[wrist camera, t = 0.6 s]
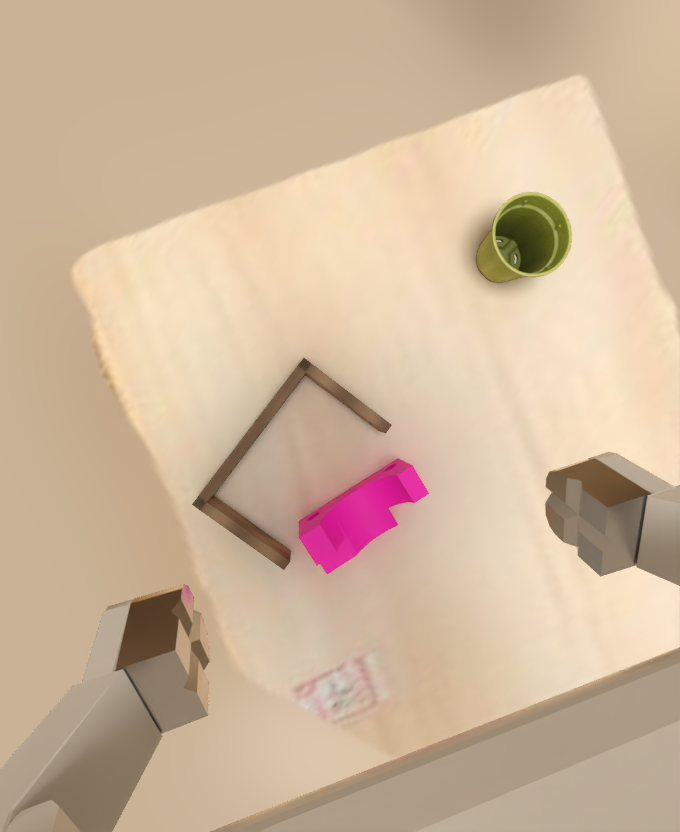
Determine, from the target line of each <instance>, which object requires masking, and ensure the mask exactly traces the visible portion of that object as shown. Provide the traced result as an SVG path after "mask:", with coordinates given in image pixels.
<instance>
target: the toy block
mask: <svg viewBox="0 0 680 832" xmlns="http://www.w3.org/2000/svg"><path fill="white" fill-rule="evenodd" d="M427 494H429V493H428V491H427V489H426V488H425V486H424V484H423V483H422V481H421V479H420V478H419V476H418V474H417V473H416V471H415V470H414V468H413V466H412V465H410V464H408V463H406V462H404V461H402V460H400V459H397V460H395V461H393V462H392V463H390V464H389V465H387V466H386V467H384V468H382V469H381V470H379V471H378V472H376V473H374V474H373V475H371V476H370V477H368V478H367V479H365V480H363V481H362V482H360V483H359V484H357V485H356V486H354V487H352V488H351V489H349V490H348V491H346V492H345V493H343V494H341V495H340V496H338V497H337V498H335V499H333V500H332V501H330V502H329V503H327V504H326V505H324V506H322V507H321V508H319V509H318V510H316V511H315V512H313V513H311V514H310V515H308V516H307V517H305V518H304V519H302V520H300V521H299V538H300V539H301V541H302V543H303V544H304V546H305V547H306V549H307V551H308V552H309V554H310V555H311V557H312V558H313V560H314V562H315V563H316V565H319V564H321V566H322V567H323V569H324V570H325V572H326V573H327V574H328V573H330V572H331V571H333V570H334V569H336V568H338V567H339V566H341V565H342V564H344V563H345V562H347V561H348V560H350V559H351V558H353V557H355V556H356V555H357V554H358V553H359V552H360V551H361V549H363V548H364V547H365V546H366V545H367V544H368V543H369V542H371V541H372V540H373V539H374V538H376V537H377V536H379V535H380V534H382V533H384V532H385V531H387V530H389V529H391V528H393V527H395V526H397V525H398V524H397V522H396V521H395V519H394V517H393V516H392V514H391V512H390V511H389V509H388V508H389V507H391V506H394V505H397V504H400V503H405V502H413V503H415V502H417V501H418V500H420V499H421V498H423V497H424V496H426V495H427Z"/></svg>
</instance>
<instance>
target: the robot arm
mask: <svg viewBox="0 0 680 832" xmlns="http://www.w3.org/2000/svg"><path fill="white" fill-rule="evenodd" d="M546 487H547V489H548V490H549V491H550V492H551V495H550V497H549V498H548V500H547V501H546V517H547V520H548V522H549V525H550V527H551V529H552V530H553V532H554V533H555V534H556V535H557V536H558V537H559V538H560V539H561V540H562V541H563V542H565V543H568V544H570V545H573V546H576V547H577V553H578V556H579V557H580V558H581V559H582V560H583V561H584V562H585V563H587V564H588V565H589V566H590V567H591V568H592V569H593V570H594V571H595V572H596V573H597V574H599V575H600V576H604V575H607V574H610V573H613V572H616V571H619V570H622V569H625V568H629V567H632V566H635V565H637V568H640V569H642V570H644V571H647V572H649V573H651V574H654V575H656V576H658V577H661V578H663V579H665V580H668V581H670V582H672V583H674V584H677V585H679V586H680V485H679V486H676V487H674V486H672V485H671V484H669V483H667V482H665V481H664V480H662V479H660V478H658V477H657V476H655V475H653V474H651V473H650V472H648V471H646V470H644V469H643V468H641V467H639V466H638V465H636V464H634V463H632V462H631V461H629V460H627V459H625V458H624V457H622V456H620V455H618V454H617V453H612V452H607V453H604V454H601V455H598V456H595V457H592V458H589V459H588V460H584V461H581V462H578V463H575V464H571V465H568V466H565V467H562V468H559V469H556V470H553V471H549V473H548V475H547V478H546ZM193 604H194V597H193V595H192V593H191V591H190V589H189V587H188V586H187V585H185V584H184V585H180V586H176V587H173V588H170V589H166V590H162V591H159V592H155V593H152V594H148V595H145V596H141V597H138V598H135V599H133V600H129V601H126V602H122V603H119V604H115V605H112V606H109V607H108V608H107V609H106V610H105V611H104V612H103V614H102V618H101V621H100V624H99V628H98V631H97V635H96V637H95V641H94V644H93V647H92V651H91V654H90V657H89V661H88V664H87V667H86V670H85V674H84V677H83V680H82V683H79V684H76V685H74V686H72V687H71V689H70V690H69V691H68V692H67V693H66V694H65V695H64V697H63V698H62V699H61V700H60V701H59V702H58V704H57V705H56V706H55V707H54V708H53V709H52V710H51V711H50V713H49V714H48V715H47V716H46V717H45V718H44V719H43V721H42V722H41V723H40V724H39V725H38V726H37V728H36V729H35V730H34V731H33V732H32V733H31V734H30V736H29V737H28V738H27V739H26V740H25V741H24V742H23V743H22V744H21V746H20V747H19V748H18V749H17V750H16V751H15V753H14V754H13V755H12V756H11V757H10V758H9V759H8V760H7V762H6V763H5V764H4V765H3V766H2V767H1V769H0V832H112V831H113V829H114V827H115V825H116V823H117V821H118V819H119V818H120V816H121V814H122V812H123V810H124V808H125V806H126V804H127V802H128V800H129V799H130V797H131V795H132V793H133V791H134V789H135V787H136V785H137V783H138V782H139V780H140V778H141V776H142V774H143V772H144V770H145V768H146V766H147V764H148V763H149V760H150V759H151V757H152V755H153V753H154V751H155V749H156V747H157V745H158V744H159V742H160V740H161V738H162V735H161V733H164V732H166V731H169V730H172V729H174V728H177V727H180V726H182V725H185V724H187V723H190V722H193V721H195V720H198V719H200V718H203V717H205V716H208V699H209V681H208V679H207V677H206V675H205V672H204V669H205V668H206V666H207V664H208V663H209V641H208V633H207V630H206V626H205V623H204V620H203V618H202V615H201V613H199V612H197V611H195V610H193ZM211 832H680V648H677V649H675V650H672V651H669V652H667V653H664V654H662V655H659V656H657V657H654V658H652V659H649V660H647V661H644V662H641V663H639V664H636V665H634V666H631V667H629V668H626V669H624V670H621V671H619V672H616V673H613V674H611V675H608V676H606V677H603V678H601V679H598V680H596V681H593V682H591V683H588V684H585V685H583V686H580V687H578V688H575V689H573V690H570V691H568V692H565V693H563V694H560V695H557V696H555V697H552V698H550V699H547V700H545V701H542V702H540V703H537V704H535V705H532V706H530V707H527V708H524V709H522V710H519V711H517V712H514V713H512V714H509V715H507V716H504V717H502V718H499V719H496V720H494V721H491V722H489V723H486V724H484V725H481V726H479V727H476V728H474V729H471V730H468V731H466V732H463V733H461V734H458V735H456V736H453V737H451V738H448V739H445V740H443V741H440V742H438V743H435V744H433V745H430V746H428V747H425V748H422V749H420V750H417V751H415V752H412V753H410V754H407V755H405V756H402V757H400V758H397V759H394V760H392V761H389V762H387V763H384V764H382V765H379V766H377V767H374V768H371V769H369V770H366V771H364V772H361V773H359V774H356V775H354V776H351V777H348V778H346V779H344V780H341V781H338V782H336V783H333V784H331V785H328V786H325V787H323V788H320V789H318V790H315V791H313V792H310V793H308V794H305V795H303V796H300V797H297V798H295V799H293V800H290V801H287V802H285V803H282V804H280V805H277V806H274V807H272V808H269V809H267V810H264V811H262V812H259V813H257V814H254V815H252V816H249V817H246V818H244V819H241V820H239V821H236V822H234V823H231V824H229V825H226V826H224V827H221V828H218V829H216V830H214V831H211Z"/></svg>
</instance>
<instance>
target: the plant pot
mask: <svg viewBox="0 0 680 832" xmlns="http://www.w3.org/2000/svg"><path fill="white" fill-rule="evenodd" d="M497 239H500V240H502V241H503V242H496V240H497ZM571 242H572V231H571V225H570V222H569V219H568V217H567V215H566V213H565V211H564V210H563V208H562V207H561V206H560V205H559V204H558V203H557V202H556V201H555V200H554V199H552V198H551V197H549V196H547V195H544V194H541V193H537V192H526V193H521V194H518V195H516V196H514V197H512V198H510V199H509V200H508V201H507V202H505V203H504V204H503V206H502V207H501V208H500V209H499V211H498V212H497V214H496V216H495V219H494V222H493V226H492V230H491V231H490V232H489V234H488V235H487V237H486V238H485V239H484V241H483V242H482V244H481V245H480V247H479V249H478V251H477V257H476V260H477V266H478V268H479V270H480V272H481V273H482V274H483V275H484V276H485V277H486V278H487V279H488V280H490V281H493V282H505V281H509V280H512V279H516V278H519V277H522V276H526V277H539V276H543V275H546V274H549V273H551V272H553V271H554V270H556V269H557V268H558V267H559V266H560V265H561V264H562V263H563V262H564V260H565V259H566V257H567V255H568V253H569V250H570V247H571ZM514 254H516V255H517V263H516V264H514V259H515V258H514Z"/></svg>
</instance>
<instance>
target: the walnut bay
mask: <svg viewBox="0 0 680 832" xmlns="http://www.w3.org/2000/svg"><path fill="white" fill-rule="evenodd" d="M305 375H306V376H308V377H309V378H310V379H312V380H313V381H314V382H316V383H317V384H318V385H319V386H321V387H322V388H323V389H325V390H326V391H327V392H329V393H330V394H331V395H333V396H334V397H335V398H337V399H338V400H339V401H340V402H342V403H343V404H344V405H346V406H347V407H348V408H350V409H351V410H352V411H354V412H355V413H356V414H358V415H359V416H360V417H361V418H363V419H364V420H365V421H367V422H368V423H369V424H371V425H372V426H373V427H375V428H376V429H377V430H378V431H380V432H383V433H386V432H387V431H388V430H389V428H390V427H391V424H390V423H388V422H387V421H386V420H384V419H383V418H382V417H380V416H379V415H378V414H376V413H375V412H374V411H373V410H371V409H370V408H369V407H367V406H366V405H365V404H363V403H362V402H361V401H359V400H358V399H357V398H356V397H354V396H353V395H352V394H350V393H349V392H348V391H346V390H345V389H344V388H343V387H341V386H340V385H339V384H337V383H336V382H335V381H333V380H332V379H331V378H329V377H328V376H327V375H326V374H324V373H323V372H322V371H320V370H319V369H318V368H316V367H315V366H314V365H312V364H311V363H310V362H309V361H307V360H306V359H305V358H303V360H302V361H301V362H300V364H299V365H298V366H297V368H296V369H295V370H294V371H293V373H292V374H291V375H290V377H289V378H288V379H287V381H286V382H285V383H284V385H283V386H282V387H281V388H280V390H279V391H278V392H277V394H276V395H275V396H274V398H273V399H272V400H271V402H270V403H269V404H268V406H267V407H266V408H265V409H264V411H263V412H262V413H261V415H260V416H259V417H258V419H257V420H256V421H255V423H254V424H253V425H252V427H251V428H250V429H249V430H248V432H247V433H246V434H245V436H244V437H243V438H242V440H241V441H240V442H239V444H238V445H237V446H236V448H235V449H234V450H233V451H232V453H231V454H230V455H229V457H228V458H227V459H226V461H225V462H224V463H223V465H222V466H221V467H220V469H219V470H218V471H217V472H216V474H215V475H214V476H213V478H212V479H211V480H210V482H209V483H208V484H207V486H206V487H205V488H204V489H203V491H202V492H201V493H200V495H199V496H198V497H197V499H196V500H195V501H194V503H193V504H192V505H194V506H195V507H196V508H198V509H199V510H201V511H202V512H203V513H205V514H206V515H208V516H209V517H210V518H212V519H213V520H215V521H216V522H217V523H219V524H220V525H222V526H223V527H224V528H226V529H227V530H229V531H230V532H231V533H233V534H234V535H236V536H237V537H238V538H240V539H241V540H243V541H244V542H246V543H247V544H248V545H250V546H251V547H253V548H254V549H255V550H257V551H258V552H260V553H261V554H262V555H264V556H265V557H267V558H268V559H269V560H271V561H272V562H274V563H275V564H276V565H278V566H279V567H281V568H282V569H283V570H284V569H285V568H286V566H287V565H288V564H289V562H290V552H291V551H290V550H289V549H287V548H286V547H284V546H283V545H282V544H280V543H279V542H278V541H276V540H275V539H273V538H272V537H271V536H269V535H268V534H266V533H265V532H264V531H262V530H261V529H259V528H258V527H257V526H255V525H254V524H252V523H251V522H250V521H248V520H247V519H245V518H244V517H243V516H241V515H240V514H239V513H237V512H236V511H234V510H233V509H232V508H230V507H229V506H227V505H226V504H225V503H223V502H222V501H220V500H219V499H218V498H216V497H215V496H213V495H214V494H215V493H216V491H217V490H218V489H219V487H220V486H221V485H222V484H223V482H224V481H225V480H226V478H227V477H228V476H229V474H230V473H231V472H232V470H233V469H234V468H235V466H236V465H237V464H238V463H239V461H240V460H241V459H242V457H243V456H244V455H245V453H246V452H247V451H248V449H249V448H250V447H251V445H252V444H253V443H254V441H255V440H256V439H257V438H258V436H259V435H260V434H261V432H262V431H263V430H264V428H265V427H266V426H267V424H268V423H269V422H270V420H271V419H272V418H273V416H274V415H275V414H276V413H277V411H278V410H279V409H280V407H281V406H282V405H283V403H284V402H285V401H286V399H287V398H288V397H289V395H290V394H291V393H292V392H293V390H294V389H295V388H296V386H297V385H298V384H299V382H300V381H301V380H302V378H303V377H304V376H305Z"/></svg>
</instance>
